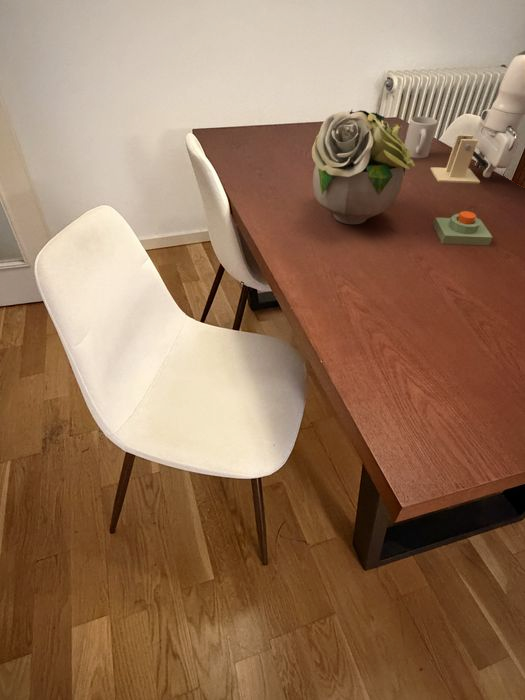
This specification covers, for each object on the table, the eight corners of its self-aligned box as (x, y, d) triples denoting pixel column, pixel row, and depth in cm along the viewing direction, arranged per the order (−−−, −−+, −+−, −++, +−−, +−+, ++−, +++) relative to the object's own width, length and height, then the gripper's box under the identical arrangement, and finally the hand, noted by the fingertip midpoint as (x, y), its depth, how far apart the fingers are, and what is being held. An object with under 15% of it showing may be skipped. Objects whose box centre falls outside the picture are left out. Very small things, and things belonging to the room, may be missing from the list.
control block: (476, 227, 101) (483, 212, 98) (488, 245, 95) (496, 230, 92) (432, 225, 101) (437, 210, 99) (441, 243, 95) (447, 228, 92)
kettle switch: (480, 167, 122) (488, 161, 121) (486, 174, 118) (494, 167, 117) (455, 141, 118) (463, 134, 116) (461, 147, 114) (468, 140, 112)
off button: (470, 218, 97) (473, 211, 95) (475, 225, 94) (478, 218, 93) (455, 217, 97) (458, 210, 96) (459, 224, 94) (462, 217, 93)
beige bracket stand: (468, 173, 126) (483, 132, 118) (478, 186, 119) (495, 144, 110) (429, 172, 126) (441, 131, 118) (437, 185, 119) (451, 142, 111)
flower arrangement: (289, 230, 99) (296, 120, 81) (317, 190, 115) (328, 92, 98) (391, 250, 92) (422, 136, 75) (405, 206, 109) (433, 103, 92)
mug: (400, 150, 139) (409, 115, 132) (426, 152, 138) (436, 117, 131) (403, 163, 131) (412, 126, 123) (430, 165, 130) (441, 128, 122)
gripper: (530, 134, 103) (504, 187, 113) (501, 110, 118) (480, 159, 128) (506, 132, 103) (482, 185, 113) (480, 109, 118) (461, 158, 128)
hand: (481, 171), depth 121 cm, fingers closed on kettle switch, 5 cm apart
